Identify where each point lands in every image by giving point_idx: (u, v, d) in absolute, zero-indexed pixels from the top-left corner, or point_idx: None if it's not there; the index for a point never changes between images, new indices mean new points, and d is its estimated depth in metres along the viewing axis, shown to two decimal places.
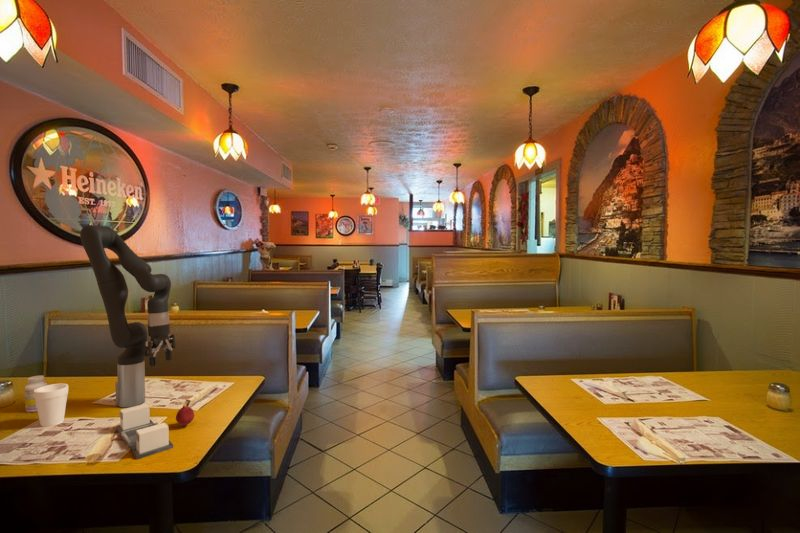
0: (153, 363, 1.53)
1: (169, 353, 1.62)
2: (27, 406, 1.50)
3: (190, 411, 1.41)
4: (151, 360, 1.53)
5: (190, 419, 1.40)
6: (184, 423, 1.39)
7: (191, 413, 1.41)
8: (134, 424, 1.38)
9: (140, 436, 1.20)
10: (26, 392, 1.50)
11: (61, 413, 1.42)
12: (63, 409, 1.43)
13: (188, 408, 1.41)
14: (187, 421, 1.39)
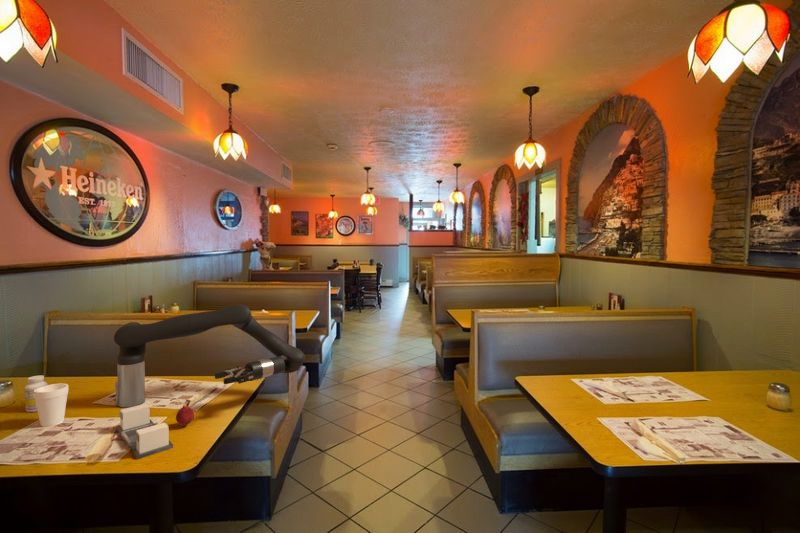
0: (228, 383, 1.47)
1: (223, 376, 1.54)
2: (27, 406, 1.50)
3: (190, 411, 1.41)
4: (231, 381, 1.48)
5: (190, 419, 1.40)
6: (184, 423, 1.39)
7: (191, 413, 1.41)
8: (134, 424, 1.38)
9: (140, 436, 1.20)
10: (26, 392, 1.50)
11: (61, 413, 1.42)
12: (63, 409, 1.43)
13: (188, 408, 1.41)
14: (187, 421, 1.39)
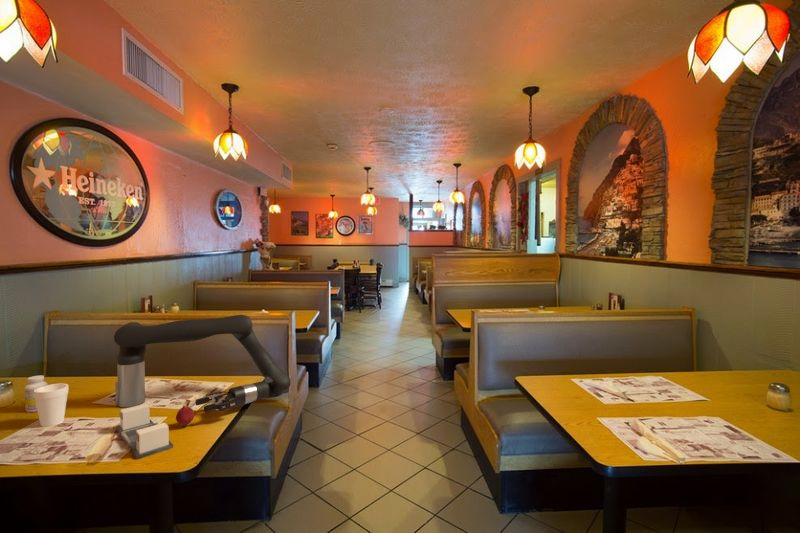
0: (208, 410, 1.43)
1: (204, 402, 1.50)
2: (27, 406, 1.50)
3: (190, 411, 1.41)
4: (212, 408, 1.43)
5: (190, 419, 1.40)
6: (184, 423, 1.39)
7: (191, 413, 1.41)
8: (134, 424, 1.38)
9: (140, 436, 1.20)
10: (26, 392, 1.50)
11: (61, 413, 1.42)
12: (63, 409, 1.43)
13: (188, 408, 1.41)
14: (187, 421, 1.39)
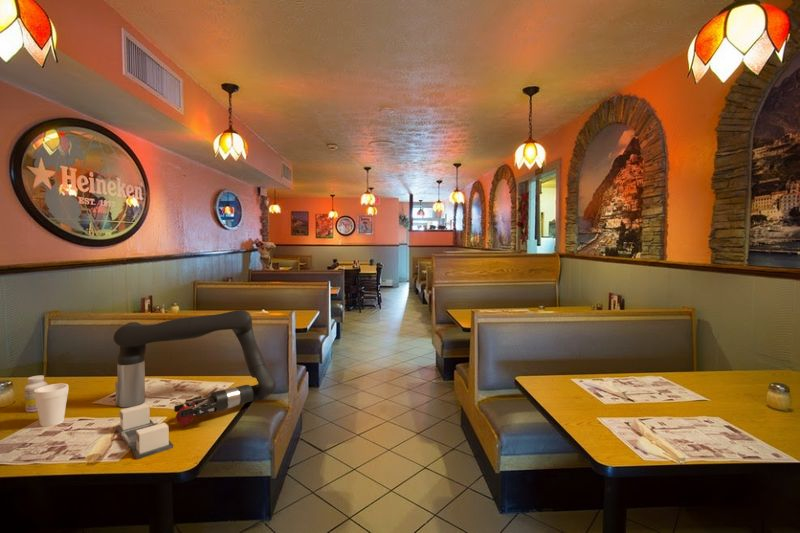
0: (184, 415, 1.38)
1: None
2: (27, 406, 1.50)
3: None
4: (189, 413, 1.38)
5: (190, 419, 1.40)
6: (184, 423, 1.39)
7: None
8: (134, 424, 1.38)
9: (140, 436, 1.20)
10: (26, 392, 1.50)
11: (61, 413, 1.42)
12: (63, 409, 1.43)
13: (188, 408, 1.41)
14: (187, 421, 1.39)
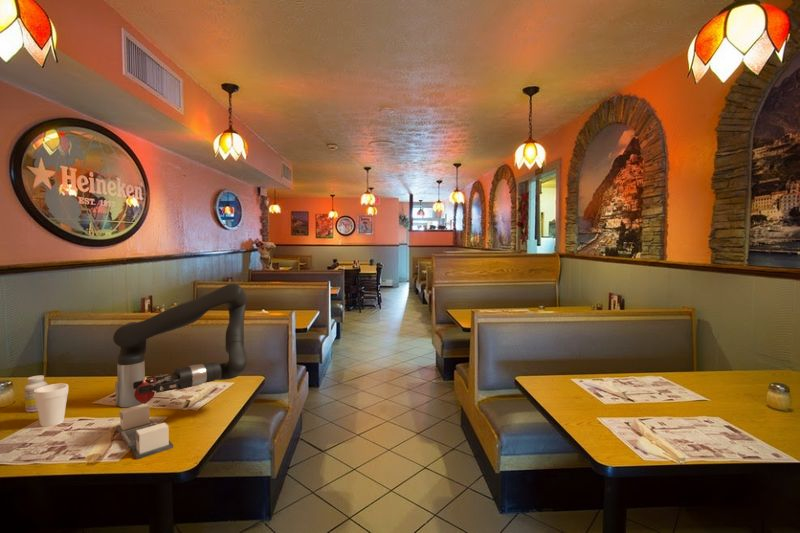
0: None
1: None
2: (27, 406, 1.50)
3: None
4: (148, 390, 1.29)
5: (150, 396, 1.31)
6: (143, 400, 1.30)
7: None
8: (134, 424, 1.38)
9: (140, 436, 1.20)
10: (26, 392, 1.50)
11: (61, 413, 1.42)
12: (63, 409, 1.43)
13: (148, 384, 1.31)
14: (146, 398, 1.30)
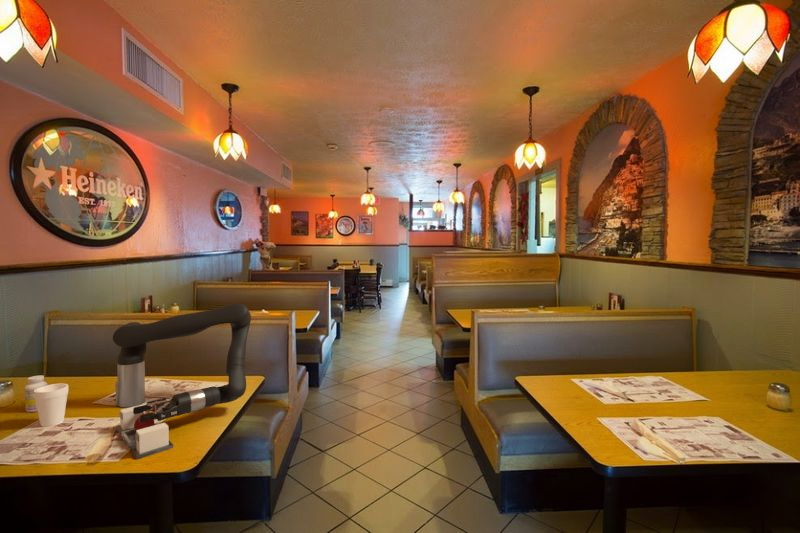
0: (144, 420, 1.28)
1: (143, 411, 1.35)
2: (27, 406, 1.50)
3: None
4: (149, 418, 1.29)
5: None
6: None
7: (151, 421, 1.32)
8: None
9: (140, 436, 1.20)
10: (26, 392, 1.50)
11: (61, 413, 1.42)
12: (63, 409, 1.43)
13: None
14: None
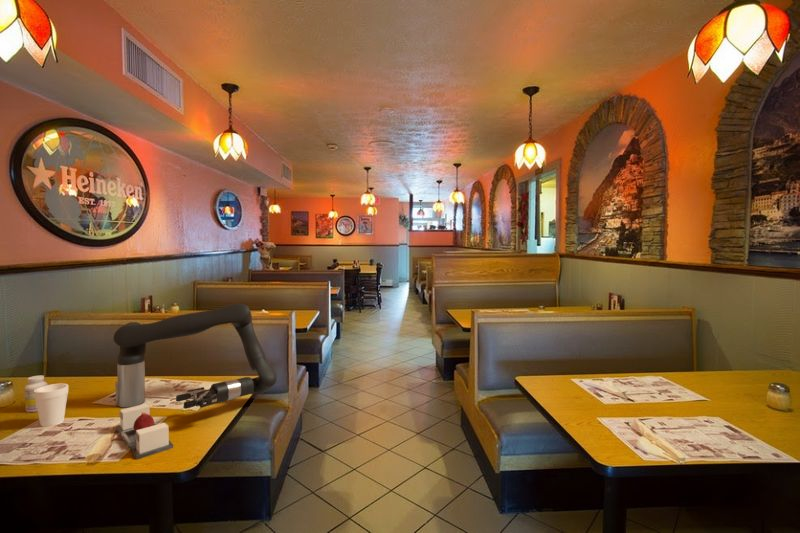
0: (188, 407, 1.38)
1: (185, 398, 1.45)
2: (27, 406, 1.50)
3: (149, 419, 1.31)
4: (192, 405, 1.38)
5: None
6: None
7: (150, 421, 1.31)
8: None
9: (140, 436, 1.20)
10: (26, 392, 1.50)
11: (61, 413, 1.42)
12: (63, 409, 1.43)
13: (147, 416, 1.32)
14: None
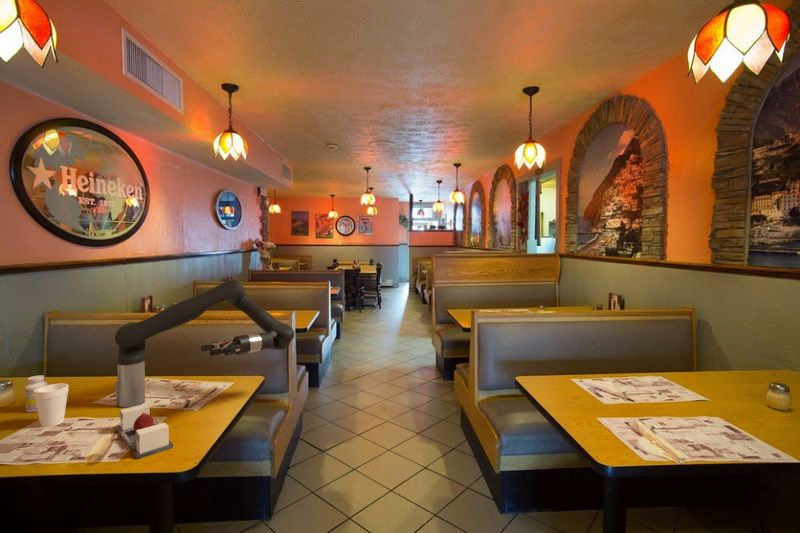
0: (214, 354, 1.44)
1: (209, 349, 1.51)
2: (27, 406, 1.50)
3: (149, 419, 1.31)
4: (218, 352, 1.45)
5: None
6: None
7: (150, 421, 1.31)
8: None
9: (140, 436, 1.20)
10: (26, 392, 1.50)
11: (61, 413, 1.42)
12: (63, 409, 1.43)
13: (147, 416, 1.32)
14: None
